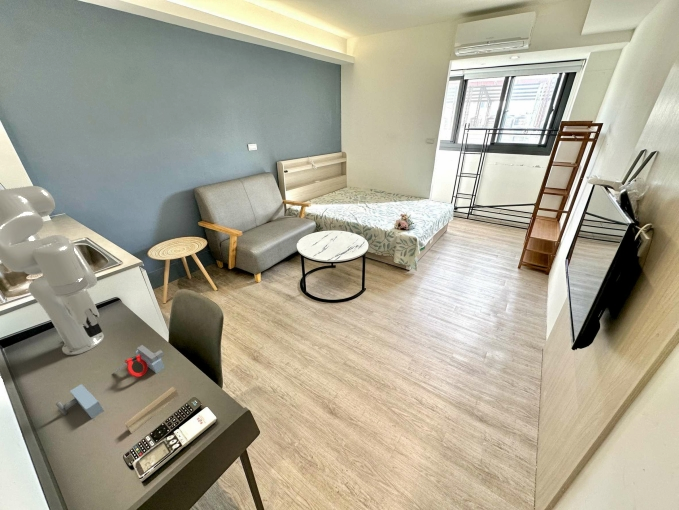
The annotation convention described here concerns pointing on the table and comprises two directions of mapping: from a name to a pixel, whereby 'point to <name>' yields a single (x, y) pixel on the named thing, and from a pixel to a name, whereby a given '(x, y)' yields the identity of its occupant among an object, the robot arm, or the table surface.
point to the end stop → (151, 410)
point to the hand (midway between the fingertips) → (95, 333)
